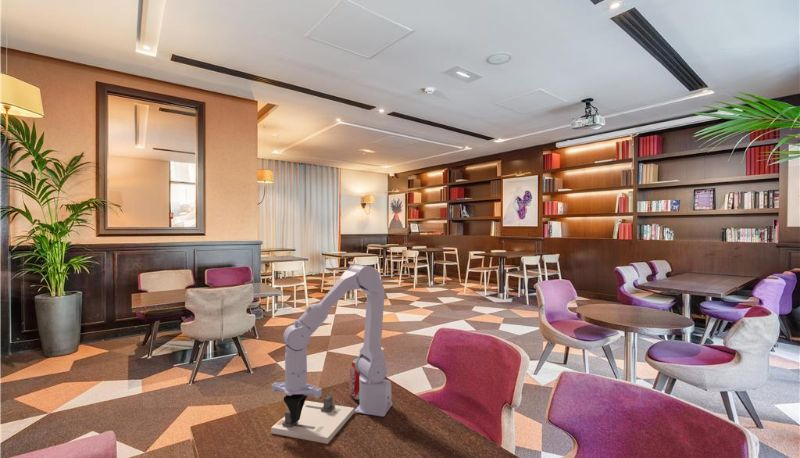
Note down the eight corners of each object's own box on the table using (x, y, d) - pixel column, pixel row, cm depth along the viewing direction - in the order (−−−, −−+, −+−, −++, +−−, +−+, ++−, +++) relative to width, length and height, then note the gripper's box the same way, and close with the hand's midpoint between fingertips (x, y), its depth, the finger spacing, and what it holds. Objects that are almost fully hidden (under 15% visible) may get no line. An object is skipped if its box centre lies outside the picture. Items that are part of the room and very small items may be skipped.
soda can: (367, 402, 110) (367, 364, 111) (346, 400, 112) (346, 363, 112) (373, 392, 117) (373, 356, 118) (353, 391, 119) (353, 355, 119)
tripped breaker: (298, 421, 96) (298, 408, 97) (291, 427, 94) (291, 414, 94) (288, 419, 97) (288, 407, 97) (282, 425, 94) (282, 412, 95)
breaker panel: (354, 412, 104) (353, 407, 104) (327, 443, 89) (327, 437, 89) (304, 405, 109) (304, 400, 109) (271, 433, 94) (271, 427, 94)
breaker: (335, 407, 104) (334, 395, 104) (330, 412, 101) (330, 400, 101) (326, 405, 105) (326, 394, 105) (320, 410, 102) (320, 399, 102)
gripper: (263, 372, 93) (264, 424, 93) (311, 379, 89) (311, 432, 89) (280, 363, 100) (280, 411, 100) (325, 368, 96) (325, 418, 96)
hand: (296, 420), depth 95 cm, fingers closed
